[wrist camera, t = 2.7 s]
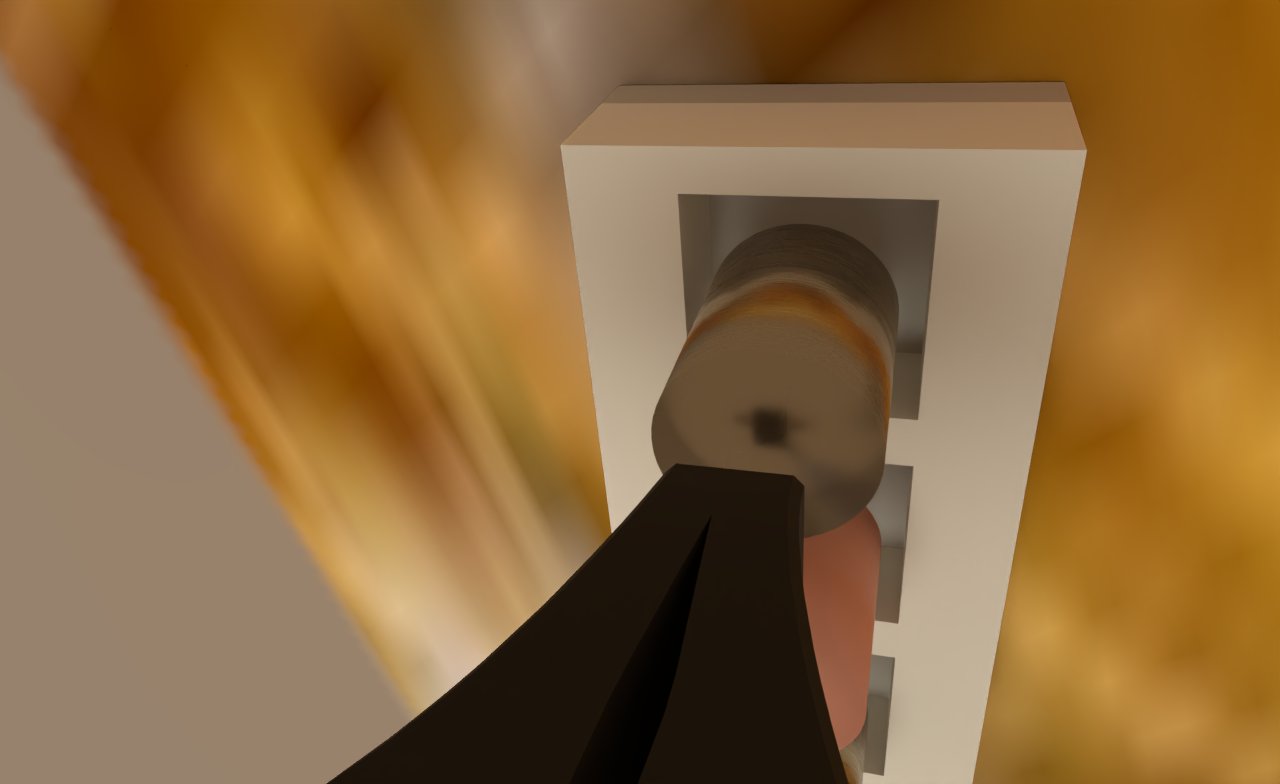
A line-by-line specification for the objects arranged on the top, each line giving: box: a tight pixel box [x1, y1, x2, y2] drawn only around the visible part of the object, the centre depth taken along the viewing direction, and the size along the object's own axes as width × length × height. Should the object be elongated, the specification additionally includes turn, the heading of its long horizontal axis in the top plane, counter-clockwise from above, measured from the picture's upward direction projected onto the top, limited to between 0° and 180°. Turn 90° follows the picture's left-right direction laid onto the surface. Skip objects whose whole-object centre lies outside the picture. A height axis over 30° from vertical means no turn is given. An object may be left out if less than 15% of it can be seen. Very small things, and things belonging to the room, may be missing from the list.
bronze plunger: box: [651, 224, 899, 538], centre depth 13 cm, size 3×3×4 cm
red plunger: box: [803, 507, 881, 750], centre depth 15 cm, size 3×3×4 cm
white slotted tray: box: [560, 82, 1087, 784], centre depth 18 cm, size 7×14×3 cm, turn 6°
